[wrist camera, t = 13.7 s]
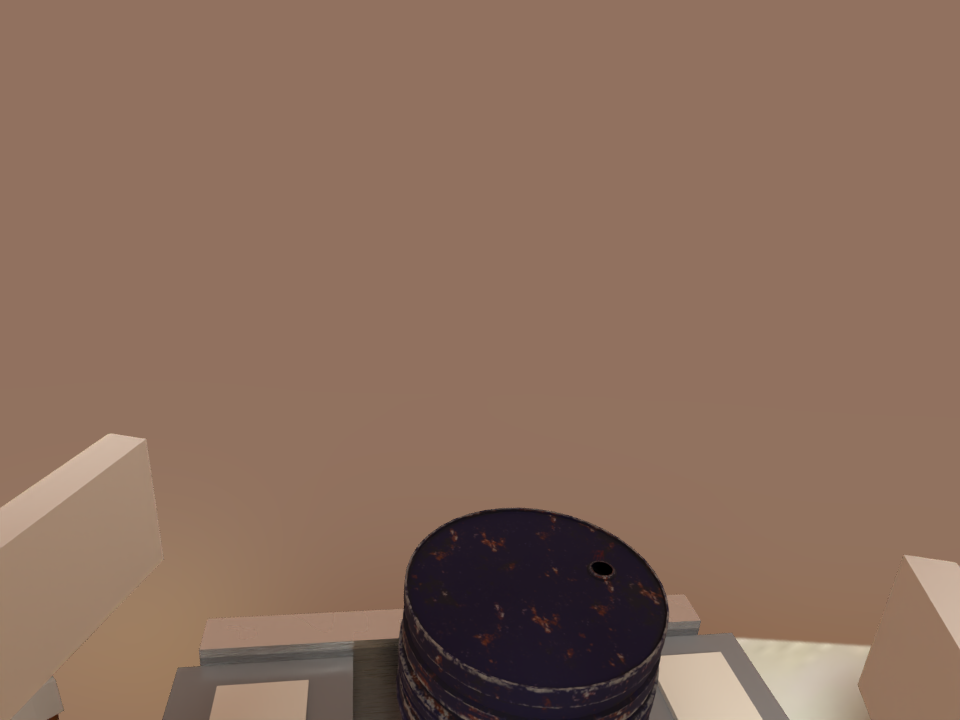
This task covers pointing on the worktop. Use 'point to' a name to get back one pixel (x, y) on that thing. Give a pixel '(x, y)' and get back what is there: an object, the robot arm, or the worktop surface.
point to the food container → (42, 704)
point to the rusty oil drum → (529, 622)
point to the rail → (349, 646)
